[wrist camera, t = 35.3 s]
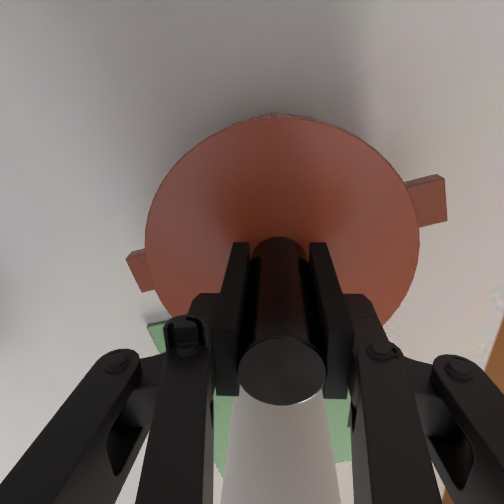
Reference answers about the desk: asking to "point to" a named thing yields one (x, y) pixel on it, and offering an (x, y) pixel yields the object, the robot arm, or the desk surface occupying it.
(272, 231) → the lid
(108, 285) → the desk surface
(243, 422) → the milk bottle
